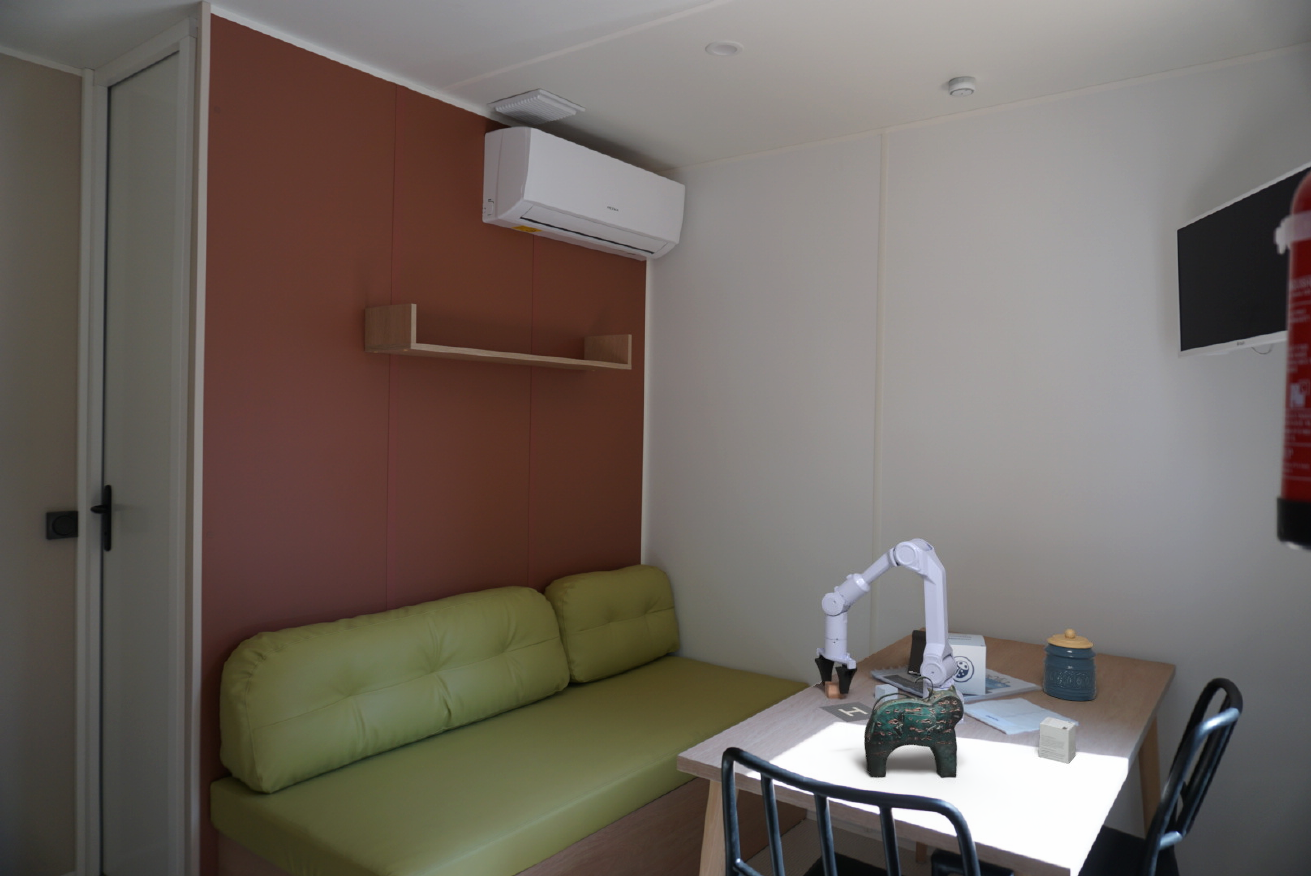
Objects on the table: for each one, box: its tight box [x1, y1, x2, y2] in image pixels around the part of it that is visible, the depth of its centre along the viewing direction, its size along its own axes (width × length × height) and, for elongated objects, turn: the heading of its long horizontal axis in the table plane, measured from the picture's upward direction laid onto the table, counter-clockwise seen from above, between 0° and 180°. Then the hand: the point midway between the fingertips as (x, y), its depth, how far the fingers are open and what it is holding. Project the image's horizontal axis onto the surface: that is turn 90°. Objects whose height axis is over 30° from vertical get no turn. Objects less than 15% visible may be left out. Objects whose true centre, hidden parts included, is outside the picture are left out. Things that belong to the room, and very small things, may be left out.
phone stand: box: [907, 629, 926, 673], centre depth 247 cm, size 9×6×12 cm, turn 143°
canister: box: [1042, 628, 1098, 702], centre depth 227 cm, size 13×13×18 cm
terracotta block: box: [824, 681, 845, 700], centre depth 221 cm, size 4×4×4 cm
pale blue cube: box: [874, 683, 899, 703], centre depth 218 cm, size 4×4×4 cm
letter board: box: [819, 701, 873, 723], centre depth 208 cm, size 12×12×1 cm
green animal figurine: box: [863, 676, 965, 779], centre depth 171 cm, size 20×6×20 cm, turn 92°
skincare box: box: [1038, 716, 1077, 765], centre depth 182 cm, size 6×6×7 cm
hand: (835, 689), depth 221 cm, fingers open, 7 cm apart
